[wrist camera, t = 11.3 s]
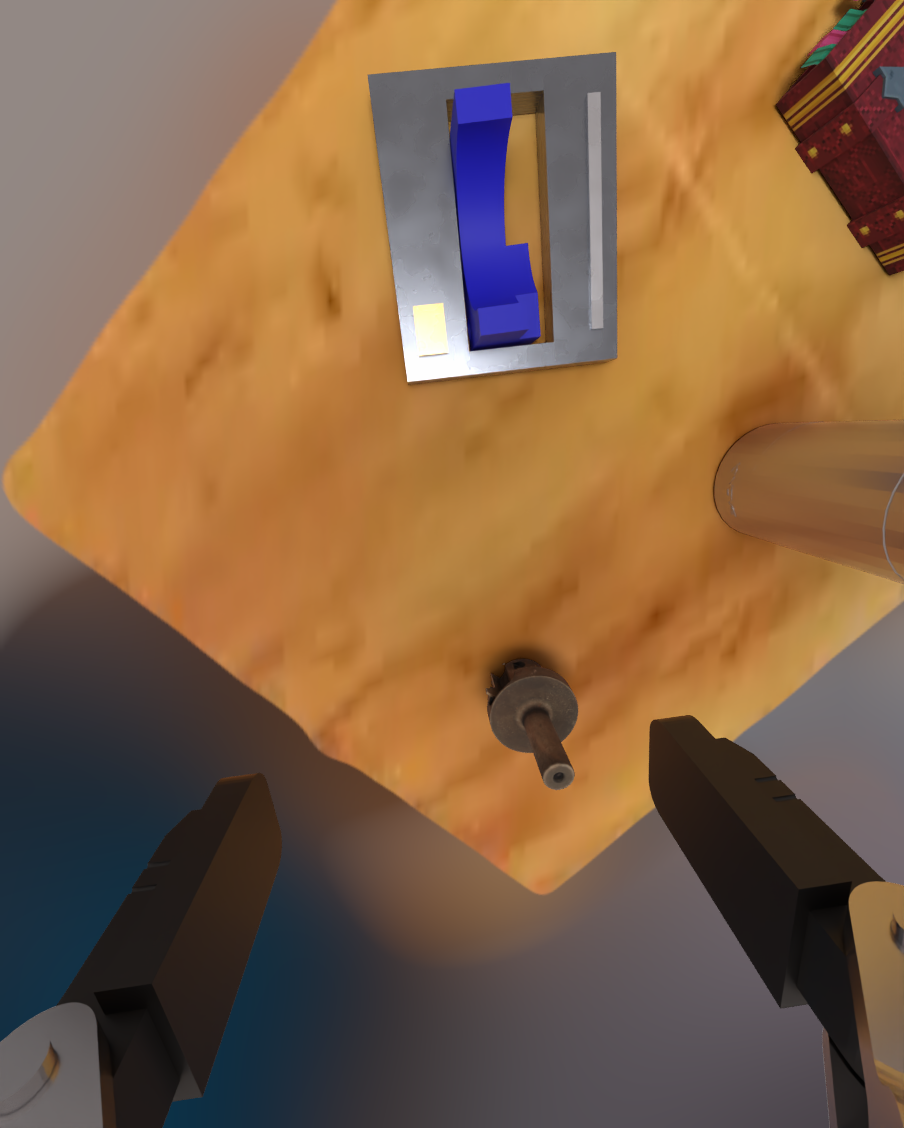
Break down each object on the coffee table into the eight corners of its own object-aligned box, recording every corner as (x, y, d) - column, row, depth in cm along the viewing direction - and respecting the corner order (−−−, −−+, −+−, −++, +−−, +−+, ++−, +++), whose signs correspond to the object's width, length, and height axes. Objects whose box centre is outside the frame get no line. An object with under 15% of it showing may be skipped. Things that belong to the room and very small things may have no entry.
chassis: (603, 77, 29) (620, 43, 26) (606, 362, 34) (620, 356, 31) (371, 99, 28) (366, 66, 26) (408, 384, 33) (407, 380, 31)
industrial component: (462, 686, 41) (479, 786, 29) (513, 628, 39) (551, 708, 28) (538, 737, 43) (581, 848, 31) (589, 683, 41) (653, 779, 30)
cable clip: (530, 344, 33) (553, 325, 27) (470, 353, 33) (480, 335, 27) (514, 148, 30) (537, 79, 24) (447, 156, 29) (454, 89, 24)
